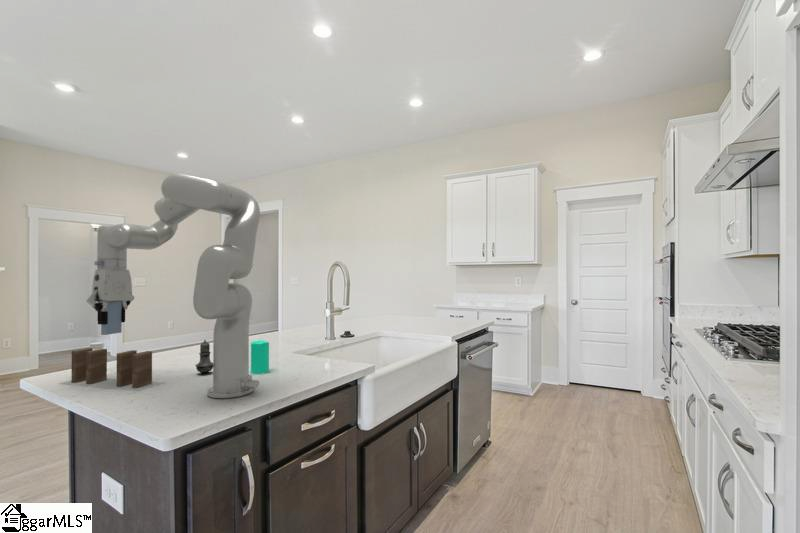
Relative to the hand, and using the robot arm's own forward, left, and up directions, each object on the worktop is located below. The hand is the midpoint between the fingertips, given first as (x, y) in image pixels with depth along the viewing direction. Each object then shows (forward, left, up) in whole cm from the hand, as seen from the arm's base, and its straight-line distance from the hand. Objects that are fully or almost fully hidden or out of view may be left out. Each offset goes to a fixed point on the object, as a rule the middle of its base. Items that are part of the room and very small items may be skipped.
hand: (111, 322), depth 125 cm
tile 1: (-12, 0, -19) cm, 22 cm away
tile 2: (-6, 0, -19) cm, 20 cm away
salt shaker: (-20, -17, -20) cm, 33 cm away
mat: (0, 0, -19) cm, 19 cm away
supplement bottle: (+20, -11, -20) cm, 30 cm away
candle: (-36, -25, -20) cm, 48 cm away
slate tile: (0, 0, -3) cm, 3 cm away
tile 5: (+12, 0, -19) cm, 22 cm away
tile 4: (+6, 0, -19) cm, 20 cm away
